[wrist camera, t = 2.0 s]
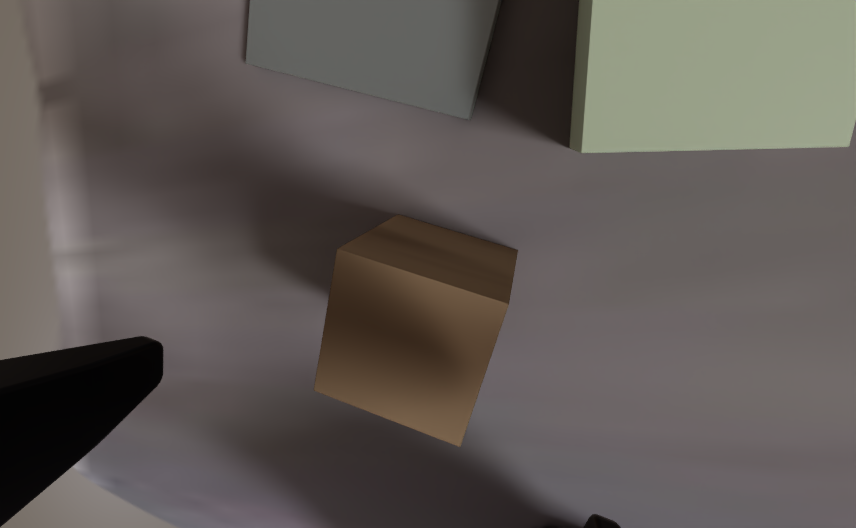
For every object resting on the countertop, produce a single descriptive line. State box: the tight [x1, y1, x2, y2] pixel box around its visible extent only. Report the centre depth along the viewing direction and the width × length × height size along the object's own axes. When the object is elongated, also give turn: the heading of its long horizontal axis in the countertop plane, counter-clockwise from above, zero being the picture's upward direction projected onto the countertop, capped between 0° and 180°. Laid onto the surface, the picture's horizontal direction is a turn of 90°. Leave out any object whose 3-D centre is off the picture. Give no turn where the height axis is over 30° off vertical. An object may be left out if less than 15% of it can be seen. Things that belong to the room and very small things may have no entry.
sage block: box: [569, 0, 856, 153], centre depth 10 cm, size 5×5×4 cm
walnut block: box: [314, 214, 518, 447], centre depth 13 cm, size 4×4×5 cm
